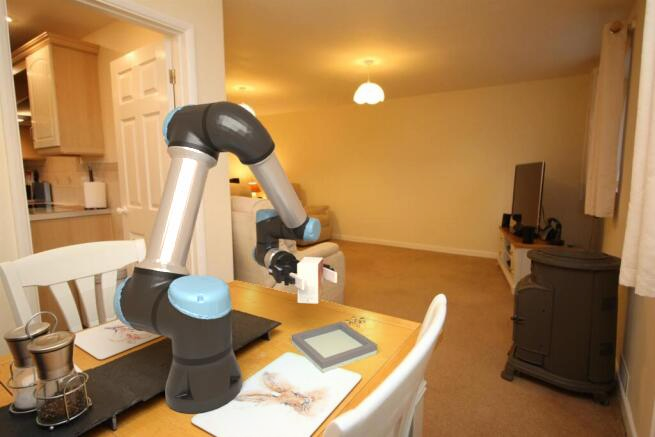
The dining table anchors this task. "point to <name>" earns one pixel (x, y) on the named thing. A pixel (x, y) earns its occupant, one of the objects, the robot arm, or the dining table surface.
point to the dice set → (353, 320)
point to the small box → (310, 279)
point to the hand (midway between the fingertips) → (320, 281)
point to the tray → (333, 346)
